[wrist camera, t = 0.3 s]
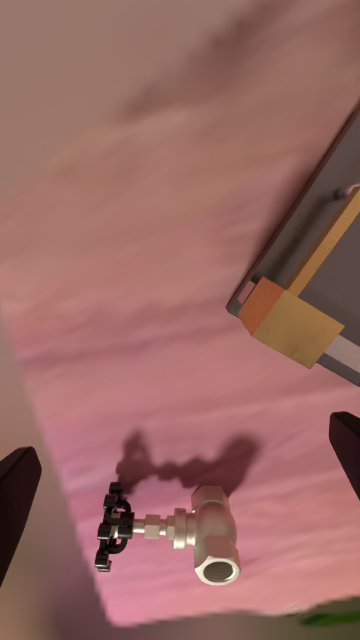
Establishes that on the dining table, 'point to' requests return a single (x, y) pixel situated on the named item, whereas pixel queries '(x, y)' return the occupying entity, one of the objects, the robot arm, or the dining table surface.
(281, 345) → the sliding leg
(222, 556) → the valve
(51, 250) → the dining table surface
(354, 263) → the bolt plate dividers
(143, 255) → the dining table surface
